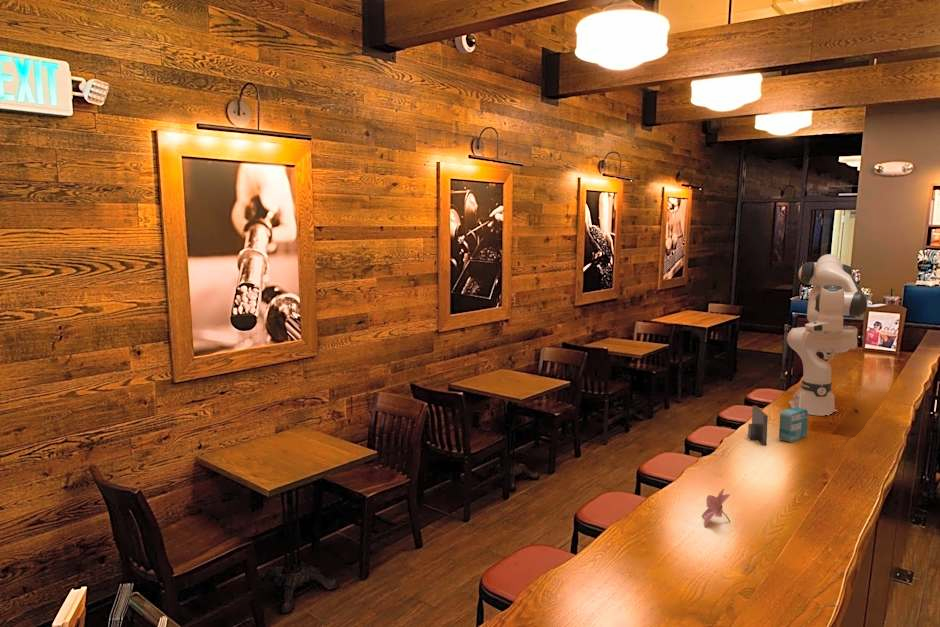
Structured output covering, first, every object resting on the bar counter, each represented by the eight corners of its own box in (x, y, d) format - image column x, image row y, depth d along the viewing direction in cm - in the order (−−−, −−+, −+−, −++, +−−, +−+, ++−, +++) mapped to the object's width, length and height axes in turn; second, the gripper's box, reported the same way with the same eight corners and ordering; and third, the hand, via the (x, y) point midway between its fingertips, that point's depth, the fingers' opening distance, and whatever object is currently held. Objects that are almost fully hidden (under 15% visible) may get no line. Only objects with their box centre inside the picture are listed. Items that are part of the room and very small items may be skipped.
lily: (710, 512, 193) (695, 487, 192) (747, 507, 186) (733, 481, 184) (702, 539, 184) (687, 513, 182) (742, 535, 176) (726, 508, 175)
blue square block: (789, 443, 247) (790, 414, 246) (778, 440, 251) (779, 411, 249) (806, 437, 253) (808, 408, 252) (796, 434, 257) (797, 406, 256)
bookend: (743, 433, 260) (745, 405, 258) (755, 433, 259) (756, 405, 258) (754, 445, 246) (755, 415, 244) (766, 445, 246) (767, 415, 244)
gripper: (854, 324, 254) (852, 357, 256) (800, 324, 257) (799, 357, 258) (861, 326, 248) (859, 361, 250) (807, 326, 250) (805, 360, 252)
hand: (828, 359), depth 254 cm, fingers closed
